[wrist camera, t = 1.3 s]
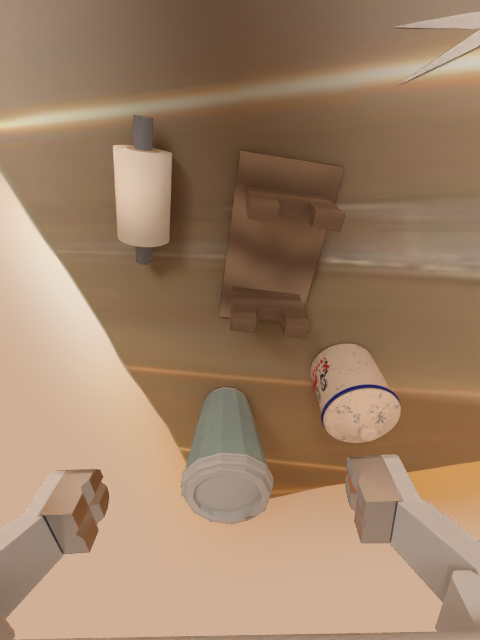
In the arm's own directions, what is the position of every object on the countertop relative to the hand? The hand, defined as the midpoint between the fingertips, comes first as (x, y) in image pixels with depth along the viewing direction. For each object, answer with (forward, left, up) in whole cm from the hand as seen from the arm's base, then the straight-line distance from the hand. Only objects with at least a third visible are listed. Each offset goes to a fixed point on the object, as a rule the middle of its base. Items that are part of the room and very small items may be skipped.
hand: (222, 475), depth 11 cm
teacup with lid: (+19, +18, -29) cm, 39 cm away
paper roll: (-2, -8, -26) cm, 28 cm away
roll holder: (+2, +5, -29) cm, 29 cm away
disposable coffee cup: (+26, +3, -29) cm, 39 cm away
